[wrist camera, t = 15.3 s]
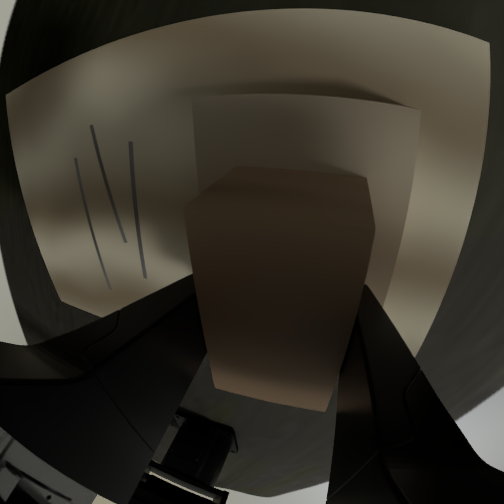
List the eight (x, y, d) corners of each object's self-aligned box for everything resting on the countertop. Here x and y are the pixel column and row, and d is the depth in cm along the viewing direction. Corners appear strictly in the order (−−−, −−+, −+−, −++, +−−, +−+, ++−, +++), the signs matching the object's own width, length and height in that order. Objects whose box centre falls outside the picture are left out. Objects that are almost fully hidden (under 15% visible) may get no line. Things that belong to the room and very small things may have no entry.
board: (398, 363, 14) (399, 384, 13) (72, 290, 21) (61, 300, 20) (473, 47, 6) (489, 42, 5) (23, 90, 13) (5, 95, 11)
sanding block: (359, 342, 12) (349, 440, 8) (234, 321, 14) (190, 405, 10) (405, 106, 7) (464, 123, 3) (220, 94, 9) (119, 110, 5)
